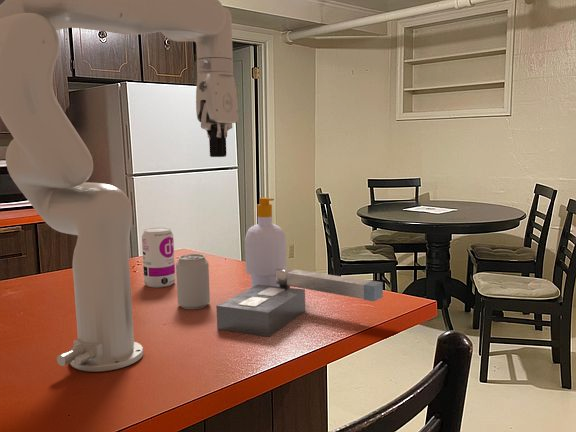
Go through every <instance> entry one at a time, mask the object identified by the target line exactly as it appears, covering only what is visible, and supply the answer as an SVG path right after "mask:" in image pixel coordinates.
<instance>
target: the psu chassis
mask: <svg viewBox="0 0 576 432" xmlns="http://www.w3.org/2000/svg"><path fill="white" fill-rule="evenodd" d="M215 308H216V329H217V330H221V331H226V332H234V333H241V334H246V335H247V334H248V335H254V336H260V337H265V338H266V337H268V338H270V337H271V336H272V335H274V334H276V332H278V331H279V330H281V329H282V328H283V327H286V325H288V324H289V323H291V322H292V321H293V320H294V319H296V318H297V317H300V315H302V314H304V312H306V289H303V288H297V287H291V286H287V285H280V287H277V286H268V285H259V284H258V285H256V286H254V287H249V288H248V289H247V290H244V291H243V292H241V293H240V292H239V294H236V295H235V296H233V297H231V298H228V299H227V300H225V301H223V302H221V303H219V304H217V305H216V307H215Z"/></svg>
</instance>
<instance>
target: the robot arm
mask: <svg viewBox="0 0 576 432" xmlns="http://www.w3.org/2000/svg"><path fill="white" fill-rule="evenodd" d="M232 19H233V18H232V13H231V11H230V9H228V8H227V7H224V6H223V4H222V3H221V1H220V0H4V1H3V2H2V3H0V118H1V120H2V122H3V124H4V125H5V127H6V129H7V130H8V132H9V133H10V134H11V136H12V138H13V139H12V140H11V141H10V143H9V144H8V146H7V149H6V151H5V165H6V168H7V172H8V174H9V176H10V178H11V179H12V181H13V182H14V184H15V185H16V187H17V188H18V189H19V191H20V192H21V193H22V194H23V196H24V197H25V198H26V199H27V201H28V202H29V204H30V205H31V206H32V208H33V209H34V211H36V213H37V214H38V215H39V216H40V218H41V219H42V220H43V221H44V222H45V223H46V224H47V225H48V226H49V227H51V228H52V229H53V230H55V231H57V232H59V233H63V234H67V235H73V236H77V239H76V244H75V247H74V250H73V254H72V263H71V264H72V265H71V266H72V277H73V278H72V279H73V289H74V290H73V291H74V305H75V316H76V319H75V320H76V329H77V330H76V332H77V339H75V340H73V342H72V343H73V346H72V347H71V348H70V350H69V351H65V352H63V353H61V354H59V355H57V357H56V362H57V364H58V365H59V366H61V367H64V366H66V365H68V364H70V366H71V367H72V368H74V369H76V370H78V371H81V372H82V371H83V372H93V373H94V372H99V373H100V372H108V371H114V370H119V369H122V368H125V367H129V366H131V365H133V364H134V363H136V362H138V361H139V360H141V358H142V357H143V355H144V347H143V345H142V344H141V343H139V342H137V341H135V339H134V338H135V337H134V336H135V335H134V322H133V304H132V301H133V299H132V288H131V287H132V286H131V285H132V284H131V271H130V270H131V268H130V234H131V228H132V220H133V207H132V204H131V201H130V198H129V197H128V196H127V194H126V193H125V192H124V191H123V190H121V189H120V188H119V187H116V186H114V185H112V184H110V183H109V184H107V183H101V182H100V183H99V182H89V181H88V180H89V178H90V177H91V176H92V174H93V171H94V161H93V156H92V154H91V153H90V150H89V149H88V147H87V145H86V144H85V142H84V140H83V139H82V137H81V136H80V135H79V133H78V131H77V130H76V128H75V127H74V125H73V124H72V122H71V121H70V120H69V118H68V116H67V114H66V113H65V111H64V109H63V108H62V106H61V104H60V103H59V101H58V99H57V97H56V94H55V92H54V86H53V81H54V79H53V76H54V72H55V71H54V70H55V66H56V63H57V60H58V56H59V51H60V39H59V35H58V32H57V31H58V30H59V31H60V30H64V29H68V28H69V29H70V28H71V29H83V30H91V31H99V32H107V33H108V32H109V33H113V34H118V35H119V34H121V35H147V34H153V33H161V34H162V35H163V36H164V37H166V39H168V40H170V41H173V42H178V43H179V42H195V45H196V70H197V71H196V72H197V74H196V75H197V77H196V79H197V80H196V91H195V92H196V93H195V109H196V113H195V114H196V119H197V120H198V122H199V123H200V127H201V129H202V130H205V131H206V133H207V139H208V140H209V141H208V142H209V143H208V145H209V156H210V158H223V157H224V158H225V157H227V137H228V131H229V130H232V128H233V124H236V123H238V121H239V105H238V95H237V85H236V81H235V77H234V62H233V61H234V58H233V57H234V55H233V29H232V28H233V26H232ZM87 181H88V182H87Z"/></svg>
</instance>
